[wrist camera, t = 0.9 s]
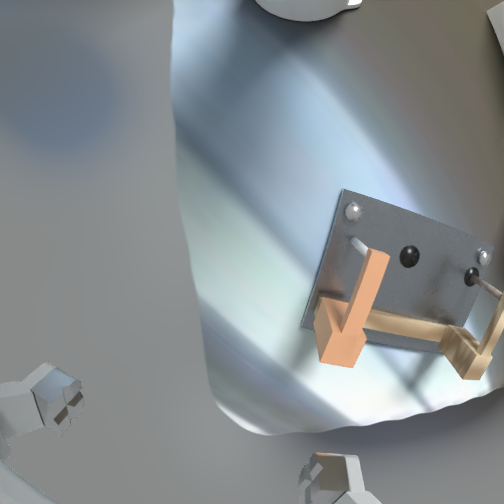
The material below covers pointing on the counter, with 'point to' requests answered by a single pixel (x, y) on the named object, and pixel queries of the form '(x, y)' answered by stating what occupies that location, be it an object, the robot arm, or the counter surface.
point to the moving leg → (349, 312)
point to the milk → (498, 22)
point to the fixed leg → (447, 335)
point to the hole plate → (401, 266)
